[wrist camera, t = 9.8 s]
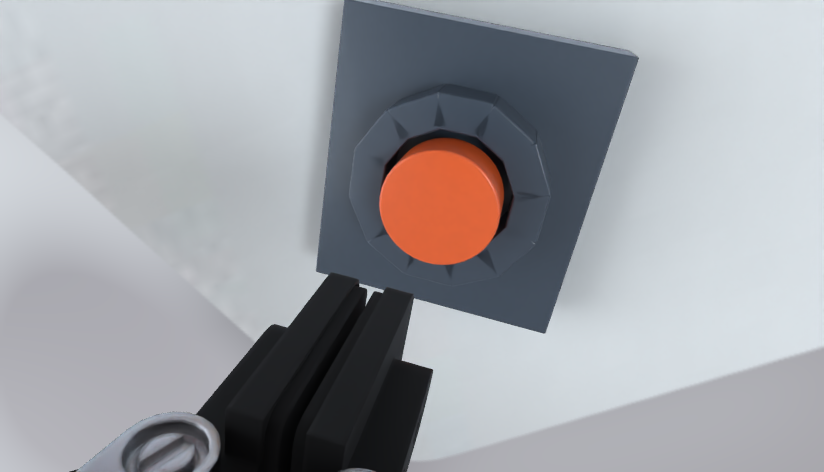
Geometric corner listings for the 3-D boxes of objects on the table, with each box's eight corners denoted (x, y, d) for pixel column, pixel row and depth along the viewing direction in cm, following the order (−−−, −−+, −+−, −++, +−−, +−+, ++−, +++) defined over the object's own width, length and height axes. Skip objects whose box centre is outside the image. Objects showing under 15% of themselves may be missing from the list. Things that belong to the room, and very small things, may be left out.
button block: (545, 306, 24) (544, 360, 21) (333, 250, 25) (298, 292, 22) (630, 50, 19) (648, 63, 16) (363, -3, 21) (324, -2, 17)
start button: (489, 256, 20) (484, 278, 18) (384, 229, 20) (371, 249, 19) (517, 151, 18) (513, 166, 17) (401, 125, 19) (388, 137, 17)
